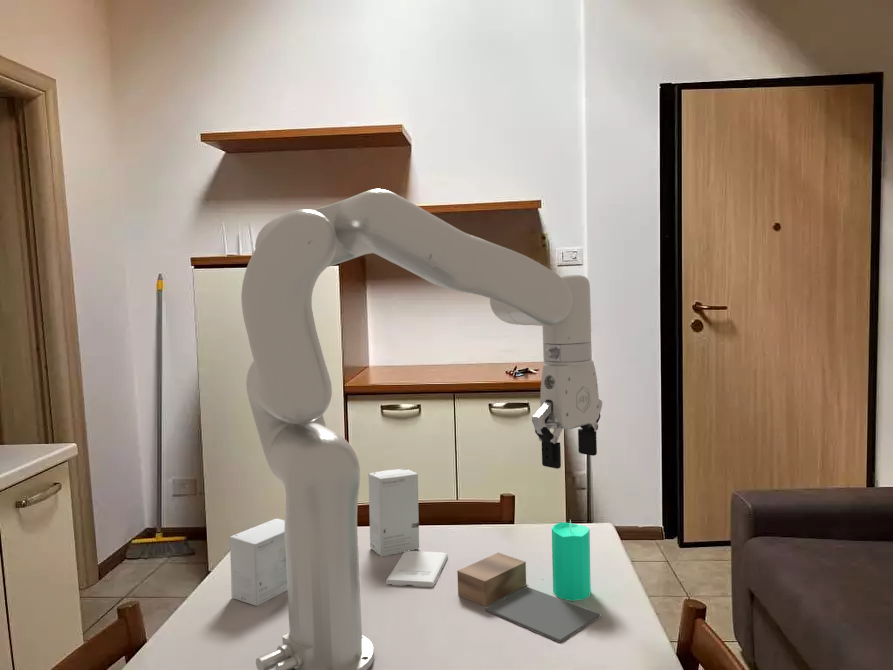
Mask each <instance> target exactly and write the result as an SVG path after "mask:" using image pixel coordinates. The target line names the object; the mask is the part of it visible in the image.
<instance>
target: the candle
mask: <svg viewBox="0 0 893 670" xmlns="http://www.w3.org/2000/svg"><path fill="white" fill-rule="evenodd" d="M590 533H591V532H590V528H589V527H587V526H586V525H581V524H577V523H572V521H571V519H569V522H561V521H559V522H558V523H556V524H554V525H553V526H552V528H551V553H552V554H551V557H552V564H551V565H552V593H553V594H554V595H555V597H556V598H559V599H561V600H564V601H566V600H567V601H580V600H581V601H582V600H586V598H589V597H590V596H591V543H590V542H591V538H590V537H591V535H590Z"/></svg>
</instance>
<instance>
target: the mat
mask: <svg viewBox="0 0 893 670" xmlns="http://www.w3.org/2000/svg"><path fill="white" fill-rule="evenodd" d="M485 611H486V612H488V613H491V614H493V615H495V616H497V617H499V618H502V619H505V620H506V621H509V622H511V623H514V624H516V625H519V626H521V627H523V628H526V629H528V630H530V631H533V632H535V633H537V634H538V635H541V636H543V637H546V638H548V639H552V640H554V641H556V642H557V643H562V642H563V641H565V640H567V639H568V638H569V637H571V636H573V635H574V634H576V633H577V632H579V631H580V630H582V629H584V628H585V627H587V626H588V625H590V624H591V623H593V622H594V621H596V620H598V619H599V618H601V613H598V612H595V611H592V610H590V609H588V608H585V607H583V606H580V605H577V604H574V603H572V602H569V601H568V600H567V601H566V600H565V599H562V598H560V597H557V596H553V595H550V594H547V593H544V592H542V591H540V590H537V589H534V588H531V587H529V586H525V587H523V588H521V589H519V590H517V591H515V592H513V593H511V594H509V596H508V595H507V597H506V596H505V597H503V598H501V599H499V600H498V601H496V602H494V603H493V604H490V605H488V606H486V607H485Z"/></svg>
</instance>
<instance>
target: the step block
mask: <svg viewBox="0 0 893 670" xmlns="http://www.w3.org/2000/svg"><path fill="white" fill-rule="evenodd" d="M526 567H527V565H526V561H524V560H521V559H518V558H516V557H513V556H509V555H507V554H503V553H501V552H496V553H494V554H492V555H490V556H488V557H486V558H483V559H481V560H478V561H477V562H476V561H475V562H474V563H472V564H470V565H467V566H465V567H463V568H461V569H458V570H457V571H456V572H457V574H456V575H457V595H458V596H460V597H462V598H465V599H467V600H469V601H472V602H473V603H476V604H479V605H482V606H484V607H488V606H490V605H492V603H493V604H494V603H496V602H498V601H500V600H502V599H504V598H506V596H508V595H511V594H513V593H515V592H517V591H519V590H521V589H523V588H525V587H527V568H526Z"/></svg>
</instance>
